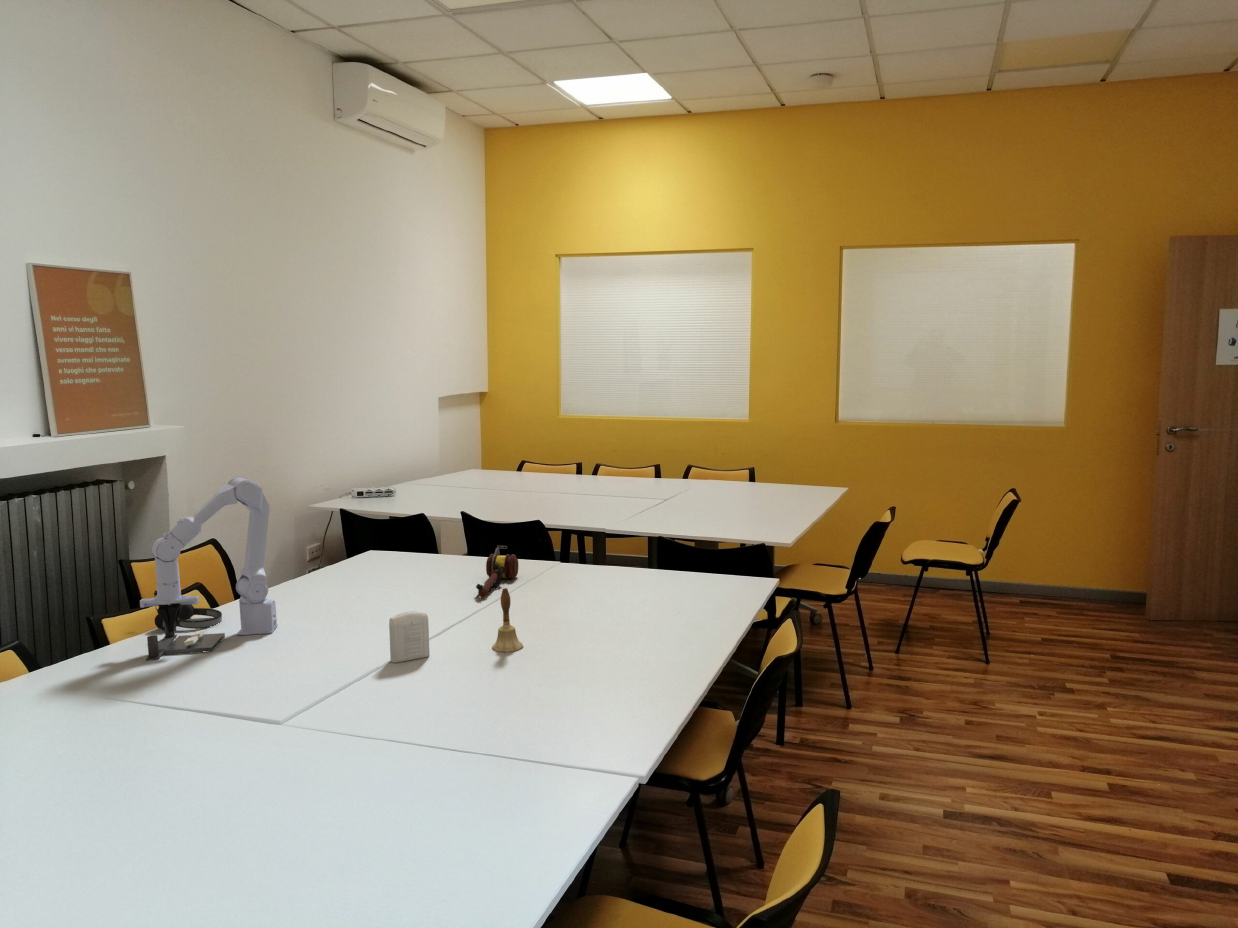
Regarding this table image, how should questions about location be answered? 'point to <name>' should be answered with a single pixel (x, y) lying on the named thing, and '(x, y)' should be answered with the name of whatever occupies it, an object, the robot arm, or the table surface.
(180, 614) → the headset
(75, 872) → the table surface
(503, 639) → the hand bell
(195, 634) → the paddle
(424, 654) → the engraved stone tablet
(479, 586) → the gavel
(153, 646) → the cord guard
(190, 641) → the paddle
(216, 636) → the switch panel
